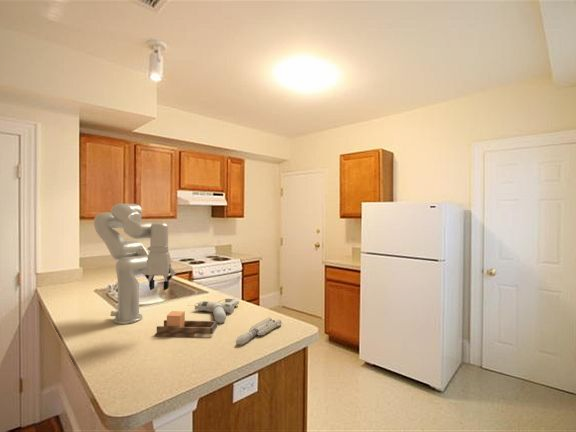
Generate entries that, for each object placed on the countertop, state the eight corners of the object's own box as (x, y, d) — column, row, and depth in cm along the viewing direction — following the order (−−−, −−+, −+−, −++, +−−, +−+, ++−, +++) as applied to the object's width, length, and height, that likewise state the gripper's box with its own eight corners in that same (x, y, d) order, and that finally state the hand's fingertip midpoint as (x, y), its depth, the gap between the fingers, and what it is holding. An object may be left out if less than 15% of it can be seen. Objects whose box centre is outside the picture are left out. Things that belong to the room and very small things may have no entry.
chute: (154, 336, 136) (154, 328, 136) (166, 326, 148) (166, 318, 148) (211, 337, 135) (211, 329, 135) (217, 327, 147) (217, 319, 147)
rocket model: (282, 319, 151) (245, 340, 125) (282, 326, 151) (245, 349, 125) (266, 315, 155) (228, 335, 129) (266, 323, 155) (227, 344, 129)
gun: (243, 306, 180) (223, 325, 151) (198, 303, 186) (170, 321, 156) (243, 296, 180) (223, 313, 151) (198, 293, 185) (170, 310, 156)
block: (166, 330, 139) (166, 315, 138) (171, 325, 145) (172, 311, 144) (179, 331, 138) (180, 315, 138) (184, 326, 144) (184, 311, 144)
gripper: (136, 250, 137) (136, 291, 138) (174, 251, 137) (174, 291, 137) (144, 248, 145) (144, 286, 145) (180, 249, 145) (180, 287, 145)
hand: (158, 288), depth 141 cm, fingers open, 5 cm apart
